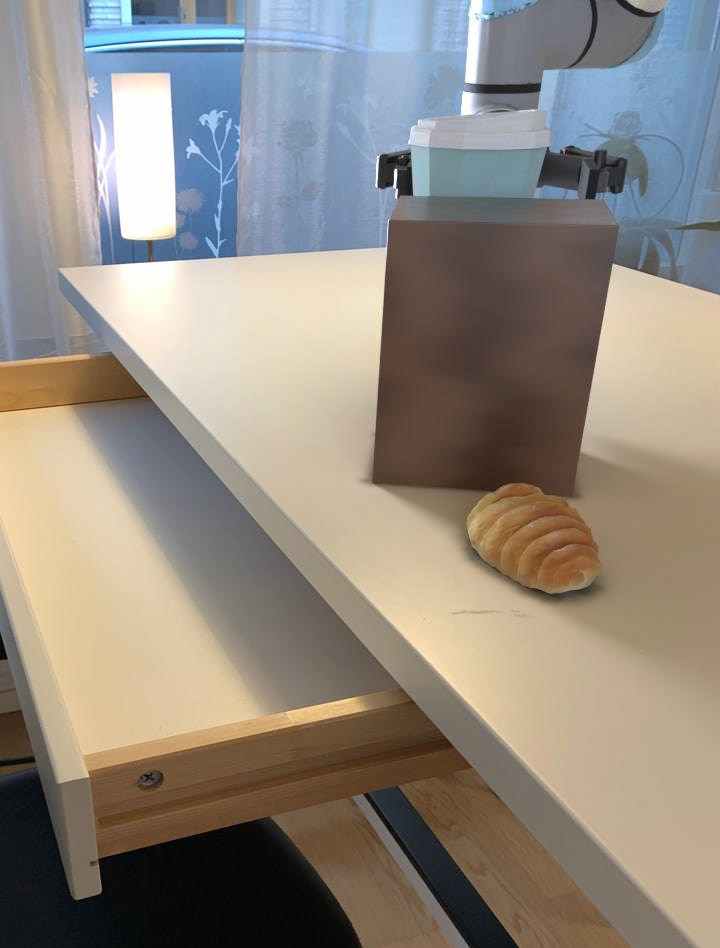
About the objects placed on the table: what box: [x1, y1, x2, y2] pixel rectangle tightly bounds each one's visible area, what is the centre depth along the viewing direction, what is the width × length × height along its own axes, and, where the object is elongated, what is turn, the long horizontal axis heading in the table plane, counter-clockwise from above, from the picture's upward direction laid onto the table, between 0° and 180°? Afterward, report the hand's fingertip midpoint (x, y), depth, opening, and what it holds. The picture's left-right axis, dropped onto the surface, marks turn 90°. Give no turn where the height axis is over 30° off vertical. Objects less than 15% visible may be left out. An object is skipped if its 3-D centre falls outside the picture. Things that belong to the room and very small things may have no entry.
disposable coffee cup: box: [407, 108, 552, 198], centre depth 79 cm, size 11×11×15 cm
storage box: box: [371, 196, 620, 498], centre depth 78 cm, size 14×24×18 cm, turn 168°
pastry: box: [466, 483, 603, 595], centre depth 62 cm, size 9×7×4 cm
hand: (499, 187), depth 78 cm, fingers open, 13 cm apart
